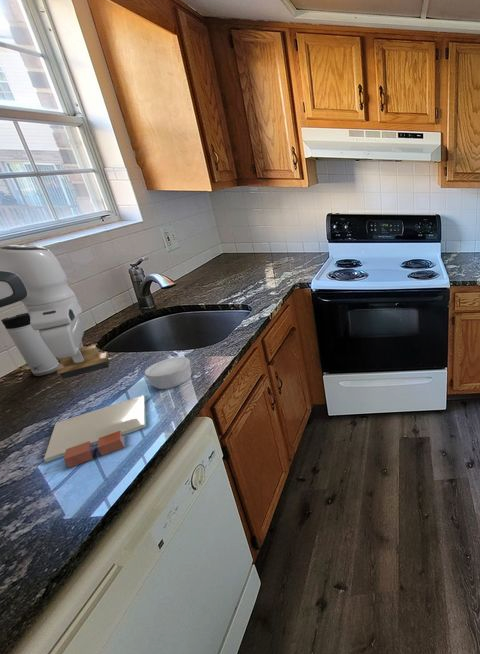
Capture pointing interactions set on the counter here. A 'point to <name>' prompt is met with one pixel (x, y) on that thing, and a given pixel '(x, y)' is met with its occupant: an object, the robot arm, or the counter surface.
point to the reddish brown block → (79, 454)
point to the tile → (96, 426)
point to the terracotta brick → (111, 443)
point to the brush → (83, 363)
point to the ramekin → (169, 372)
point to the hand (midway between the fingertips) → (80, 358)
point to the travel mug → (30, 345)
